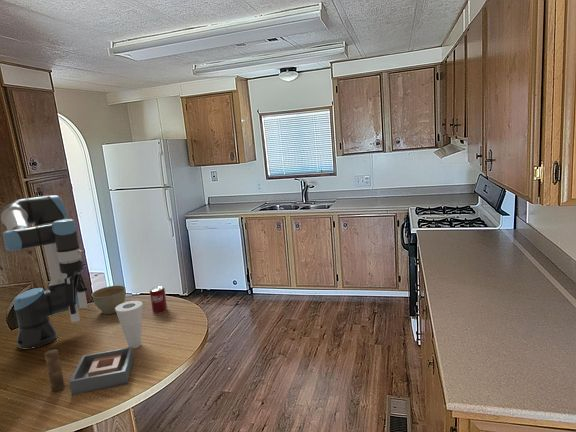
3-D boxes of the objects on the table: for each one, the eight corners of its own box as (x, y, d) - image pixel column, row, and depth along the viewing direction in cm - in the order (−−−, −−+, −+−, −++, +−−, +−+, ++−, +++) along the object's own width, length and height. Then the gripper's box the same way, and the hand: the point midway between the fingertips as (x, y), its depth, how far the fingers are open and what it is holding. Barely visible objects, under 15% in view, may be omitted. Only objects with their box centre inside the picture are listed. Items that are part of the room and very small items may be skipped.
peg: (50, 392, 137) (42, 356, 134) (53, 386, 141) (46, 350, 138) (62, 390, 138) (55, 354, 135) (66, 384, 142) (59, 348, 139)
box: (71, 394, 135) (69, 381, 134) (85, 367, 152) (82, 355, 151) (127, 384, 139) (125, 371, 138) (134, 358, 156) (132, 346, 155)
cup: (122, 354, 160) (116, 313, 156) (120, 343, 169) (114, 304, 166) (149, 347, 164) (144, 306, 161) (146, 336, 174) (140, 298, 170)
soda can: (162, 314, 197) (159, 291, 194) (149, 313, 198) (146, 291, 196) (169, 308, 204) (167, 286, 201) (157, 307, 205) (154, 286, 203)
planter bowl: (101, 306, 213) (98, 287, 211) (132, 302, 214) (129, 284, 212) (89, 318, 197) (86, 298, 195) (123, 315, 199) (119, 295, 197)
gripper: (73, 268, 135) (83, 325, 139) (88, 251, 159) (96, 301, 163) (49, 271, 133) (60, 329, 137) (67, 254, 157) (76, 304, 161)
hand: (79, 314), depth 150 cm, fingers open, 13 cm apart
